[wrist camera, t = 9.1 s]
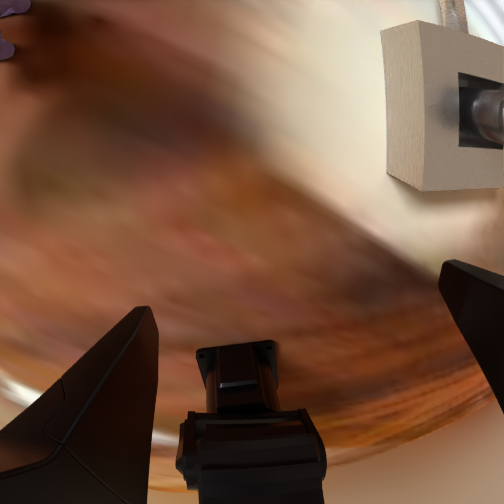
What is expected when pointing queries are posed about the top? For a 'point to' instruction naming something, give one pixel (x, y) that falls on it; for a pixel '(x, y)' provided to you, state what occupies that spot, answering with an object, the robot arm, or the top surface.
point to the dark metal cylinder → (482, 113)
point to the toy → (5, 3)
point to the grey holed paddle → (439, 103)
